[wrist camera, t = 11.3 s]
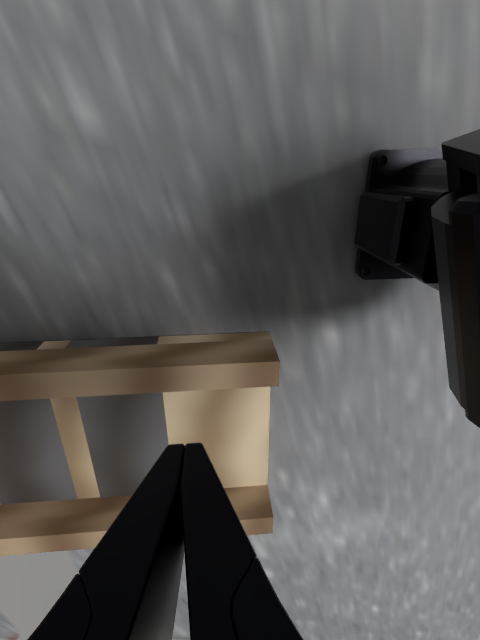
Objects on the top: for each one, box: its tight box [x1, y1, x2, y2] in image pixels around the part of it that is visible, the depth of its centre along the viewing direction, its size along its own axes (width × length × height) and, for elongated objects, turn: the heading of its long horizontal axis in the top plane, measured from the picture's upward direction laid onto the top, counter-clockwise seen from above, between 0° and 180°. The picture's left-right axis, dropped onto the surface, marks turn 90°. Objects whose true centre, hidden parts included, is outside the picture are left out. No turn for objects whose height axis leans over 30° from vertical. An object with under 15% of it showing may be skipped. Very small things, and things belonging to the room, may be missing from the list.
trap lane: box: [0, 332, 280, 556], centre depth 21 cm, size 27×13×4 cm, turn 90°
